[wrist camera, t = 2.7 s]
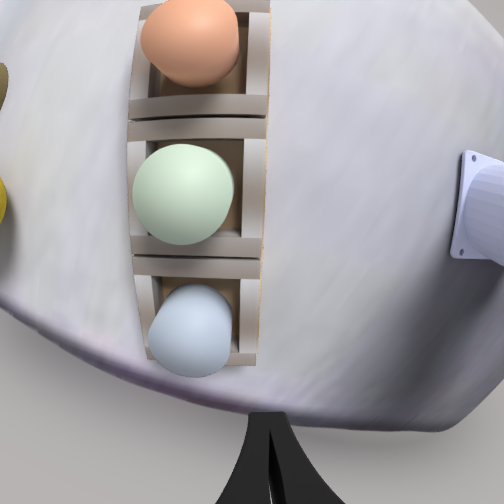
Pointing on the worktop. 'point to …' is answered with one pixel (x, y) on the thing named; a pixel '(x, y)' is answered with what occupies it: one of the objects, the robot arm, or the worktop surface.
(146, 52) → the button terracotta
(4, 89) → the pepper mill
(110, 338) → the worktop surface
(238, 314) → the panel
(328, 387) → the worktop surface
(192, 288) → the button slate
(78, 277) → the worktop surface
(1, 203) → the lemon
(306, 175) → the worktop surface
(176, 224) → the button sage
